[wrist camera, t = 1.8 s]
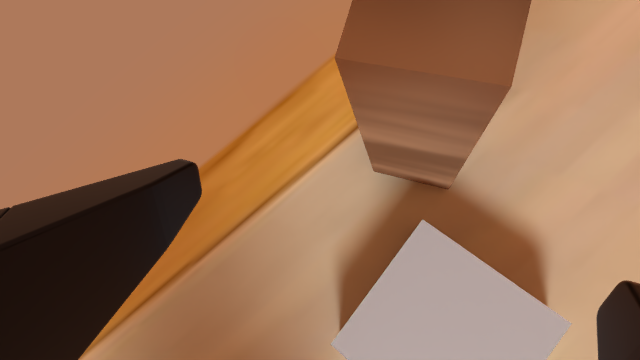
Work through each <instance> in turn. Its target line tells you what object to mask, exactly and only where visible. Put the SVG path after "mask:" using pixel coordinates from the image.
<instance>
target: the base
mask: <svg viewBox="0 0 640 360" xmlns="http://www.w3.org/2000/svg"><path fill="white" fill-rule="evenodd" d="M571 324H572V323H570V322H569V321H567V320H566V319H564V318H563V317H562V316H560V315H559V314H557V313H556V312H554V311H553V310H552V309H550V308H549V307H547V306H546V305H544V304H543V303H542V302H540V301H539V300H537V299H536V298H534V297H533V296H532V295H530V294H529V293H527V292H526V291H524V290H523V289H522V288H520V287H519V286H517V285H516V284H514V283H513V282H512V281H510V280H509V279H507V278H506V277H504V276H503V275H502V274H500V273H499V272H497V271H496V270H494V269H493V268H492V267H490V266H489V265H487V264H486V263H484V262H483V261H482V260H480V259H479V258H477V257H476V256H474V255H473V254H472V253H470V252H469V251H467V250H466V249H464V248H463V247H462V246H460V245H459V244H457V243H456V242H454V241H453V240H452V239H450V238H449V237H447V236H446V235H444V234H443V233H442V232H440V231H439V230H437V229H436V228H434V227H433V226H432V225H430V224H429V223H427V222H426V221H424V220H423V219H422V221H421V222H420V223H419V225H418V226H417V227H416V229H415V230H414V232H413V233H412V234H411V236H410V237H409V238H408V240H407V241H406V242H405V244H404V245H403V247H402V248H401V249H400V251H399V252H398V253H397V255H396V256H395V257H394V259H393V260H392V261H391V263H390V264H389V266H388V267H387V268H386V270H385V271H384V272H383V274H382V275H381V276H380V278H379V279H378V281H377V282H376V283H375V285H374V286H373V287H372V289H371V290H370V291H369V293H368V294H367V295H366V297H365V298H364V300H363V301H362V302H361V304H360V305H359V306H358V308H357V309H356V310H355V312H354V313H353V314H352V316H351V317H350V319H349V320H348V321H347V323H346V324H345V325H344V327H343V328H342V329H341V331H340V332H339V334H338V335H337V336H336V338H335V339H334V340H333V342H332V343H331V345H332V346H333V347H334V348H335V349H336V350H337V351H339V352H340V353H341V354H342V355H343V356H344V357H345V358H346V359H347V360H546V359H547V358H548V356H549V355H550V354H551V352H552V351H553V349H554V348H555V347H556V345H557V344H558V342H559V341H560V340H561V338H562V337H563V335H564V334H565V332H566V331H567V330H568V328H569V327H570V325H571Z"/></svg>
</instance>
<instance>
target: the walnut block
mask: <svg viewBox="0 0 640 360" xmlns="http://www.w3.org/2000/svg"><path fill="white" fill-rule="evenodd" d="M530 4H531V0H353V1H352V4H351V7H350V10H349V14H348V17H347V20H346V23H345V27H344V30H343V33H342V36H341V40H340V43H339V46H338V49H337V52H336V56H335V60H336V63H337V66H338V68H339V71H340V74H341V77H342V80H343V83H344V86H345V89H346V92H347V95H348V98H349V100H350V103H351V106H352V109H353V112H354V115H355V118H356V121H357V124H358V127H359V130H360V132H361V135H362V138H363V141H364V144H365V147H366V150H367V153H368V156H369V159H370V162H371V164H372V167H373V170H374V171H375V172H379V173H383V174H387V175H391V176H396V177H400V178H404V179H408V180H412V181H416V182H420V183H425V184H429V185H433V186H437V187H441V188H445V189H449V187H450V186H451V184H452V182H453V181H454V179H455V177H456V176H457V174H458V173H459V171H460V169H461V168H462V166H463V164H464V163H465V161H466V159H467V158H468V156H469V155H470V153H471V151H472V150H473V148H474V146H475V145H476V143H477V142H478V140H479V138H480V137H481V135H482V133H483V132H484V130H485V129H486V127H487V125H488V124H489V122H490V120H491V119H492V117H493V116H494V114H495V112H496V111H497V109H498V107H499V106H500V104H501V103H502V101H503V99H504V98H505V96H506V94H507V93H508V91H509V89H510V88H511V86H512V81H513V77H514V73H515V69H516V64H517V60H518V56H519V51H520V47H521V43H522V38H523V34H524V30H525V26H526V21H527V17H528V13H529V8H530Z"/></svg>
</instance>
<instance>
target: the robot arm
mask: <svg viewBox="0 0 640 360" xmlns="http://www.w3.org/2000/svg"><path fill="white" fill-rule="evenodd" d="M201 194H202V188H201V182H200V176H199V170H198V167H197V165H196V164H195V163H193V162H190V161H187V160H183V159H178V160H175V161H171V162H167V163H164V164H160V165H157V166H153V167H150V168H146V169H142V170H139V171H135V172H132V173H128V174H125V175H121V176H118V177H114V178H111V179H107V180H103V181H100V182H96V183H93V184H89V185H86V186H82V187H79V188H75V189H72V190H68V191H65V192H61V193H58V194H54V195H50V196H47V197H43V198H40V199H36V200H33V201H29V202H26V203H22V204H19V205H15V206H13V207H12V208H9V207H8V208H4V209H0V360H78V359H79V358H80V357H81V355H82V354H83V353H84V352H85V350H86V349H87V348H88V347H89V345H90V344H91V343H92V342H93V340H94V339H95V338H96V337H97V335H98V334H99V333H100V332H101V330H102V329H103V328H104V327H105V326H106V324H107V323H108V322H109V321H110V319H111V318H112V317H113V316H114V314H115V313H116V312H117V311H118V309H119V308H120V307H121V306H122V304H123V303H124V302H125V301H126V299H127V298H128V297H129V296H130V295H131V293H132V292H133V291H134V290H135V288H136V287H137V286H138V285H139V283H140V282H141V281H142V280H143V278H144V277H145V276H146V275H147V273H148V272H149V271H150V270H151V268H152V267H153V266H154V265H155V263H156V262H157V261H158V260H159V259H160V257H161V256H162V255H163V253H164V252H165V251H166V250H167V248H168V247H169V245H170V244H171V242H172V241H173V240H174V238H175V237H176V235H177V233H178V232H179V230H180V229H181V227H182V226H183V224H184V223H185V221H186V220H187V218H188V217H189V215H190V213H191V212H192V210H193V209H194V207H195V206H196V204H197V203H198V201H199V199H200V197H201ZM597 340H598V360H640V284H639V283H636V282H632V281H622V282H620V283H619V284H618V285H617V286H616V287H615V288H614V290H613V291H612V292H611V293H610V295H609V296H608V297H607V299H606V300H605V301H604V302H603V304H602V305H601V306H600V308H599V310H598V313H597Z"/></svg>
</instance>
